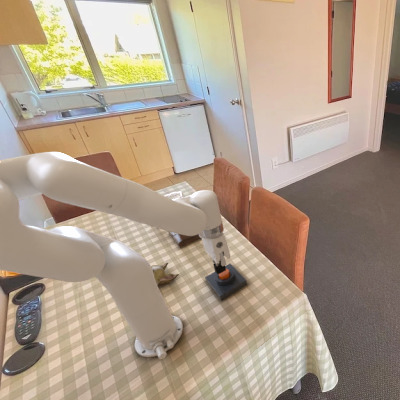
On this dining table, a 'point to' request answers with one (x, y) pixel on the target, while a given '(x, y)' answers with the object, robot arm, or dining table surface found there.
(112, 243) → the robot arm
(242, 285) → the button block
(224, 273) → the button
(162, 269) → the ceramic sculpture
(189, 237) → the panel
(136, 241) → the dining table surface
